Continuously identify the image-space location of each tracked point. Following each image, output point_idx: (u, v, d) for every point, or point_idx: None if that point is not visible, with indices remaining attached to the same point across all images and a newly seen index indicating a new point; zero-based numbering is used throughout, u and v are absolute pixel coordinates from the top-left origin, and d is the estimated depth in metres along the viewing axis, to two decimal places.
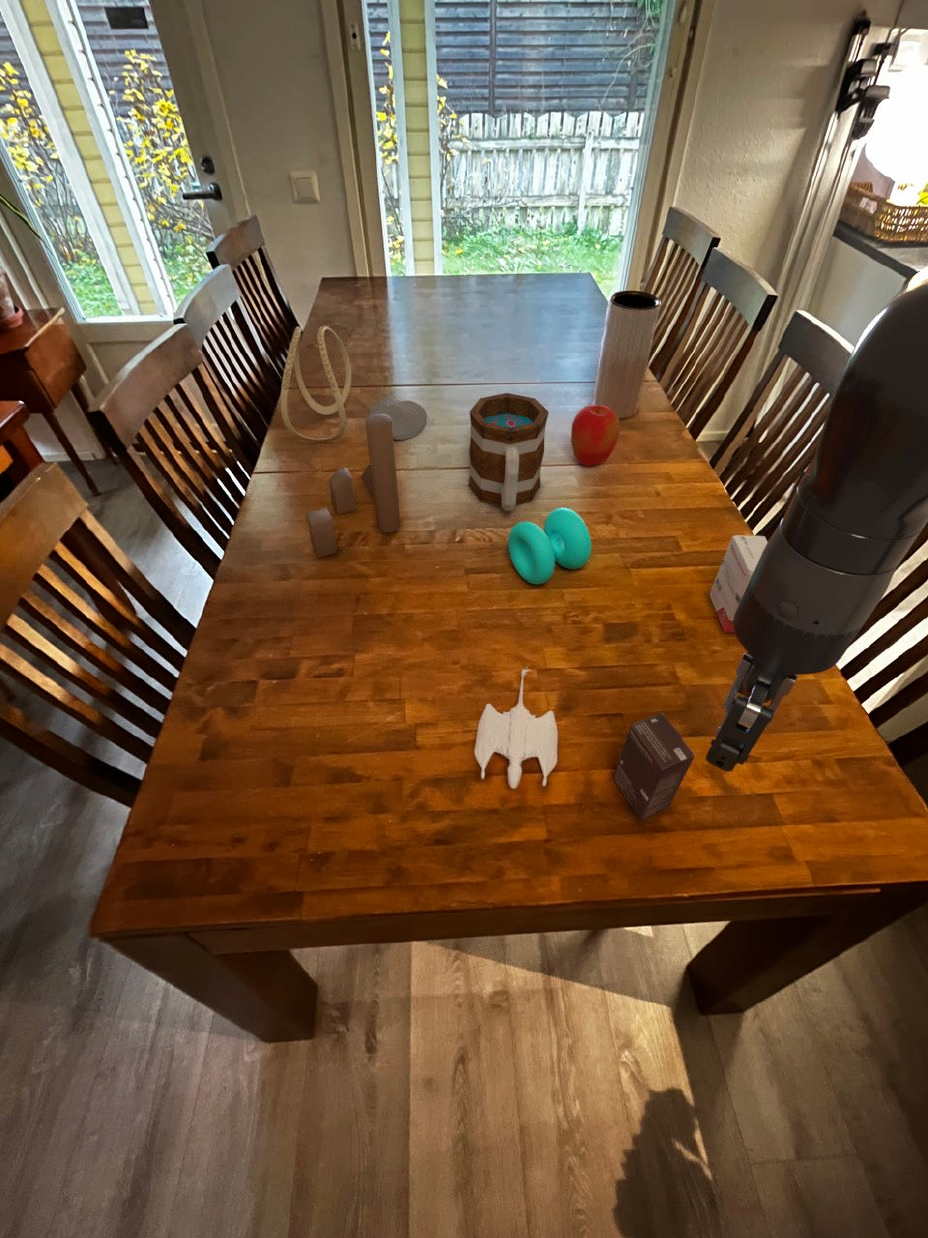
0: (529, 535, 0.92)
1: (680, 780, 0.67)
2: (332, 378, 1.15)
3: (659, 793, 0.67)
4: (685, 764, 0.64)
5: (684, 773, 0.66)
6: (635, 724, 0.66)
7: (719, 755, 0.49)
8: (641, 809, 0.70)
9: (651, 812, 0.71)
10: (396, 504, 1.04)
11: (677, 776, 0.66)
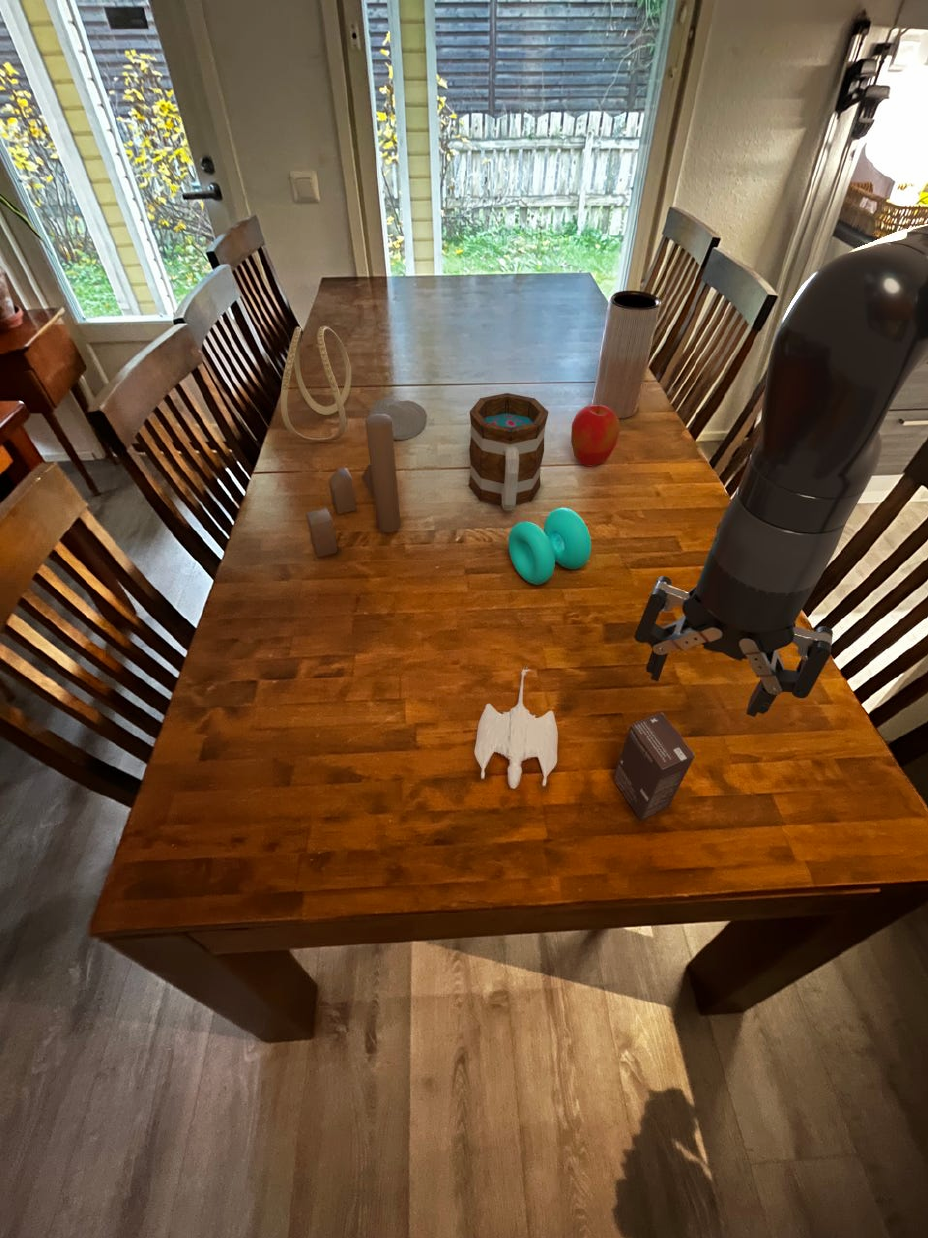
0: (529, 535, 0.92)
1: (680, 780, 0.67)
2: (332, 378, 1.15)
3: (659, 793, 0.67)
4: (685, 764, 0.64)
5: (684, 773, 0.66)
6: (635, 724, 0.66)
7: None
8: (641, 809, 0.70)
9: (651, 812, 0.71)
10: (396, 504, 1.04)
11: (677, 776, 0.66)
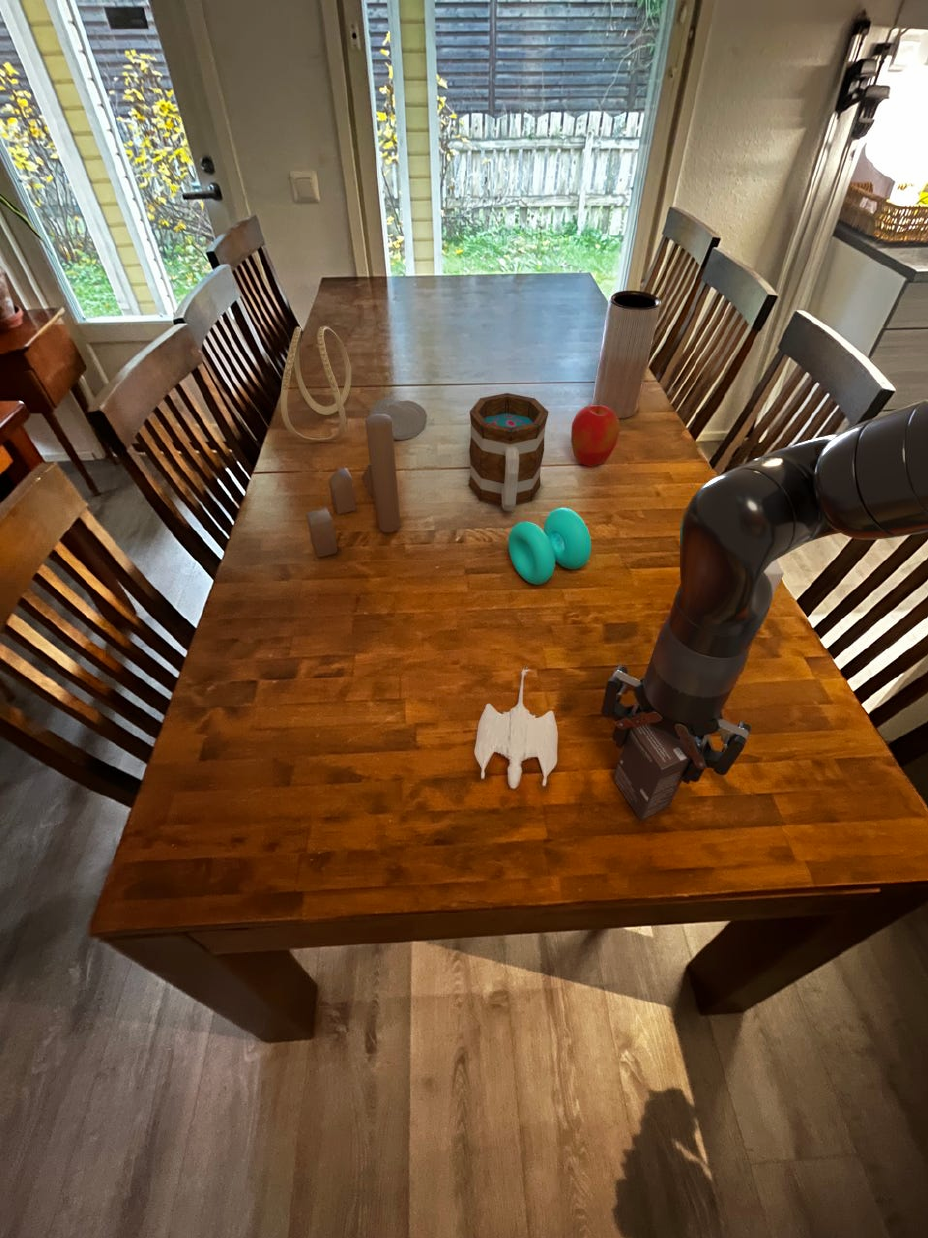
0: (529, 535, 0.92)
1: (680, 780, 0.67)
2: (332, 378, 1.15)
3: (659, 793, 0.67)
4: (685, 764, 0.64)
5: (684, 773, 0.66)
6: None
7: None
8: (641, 809, 0.70)
9: (651, 812, 0.71)
10: (396, 504, 1.04)
11: (677, 776, 0.66)
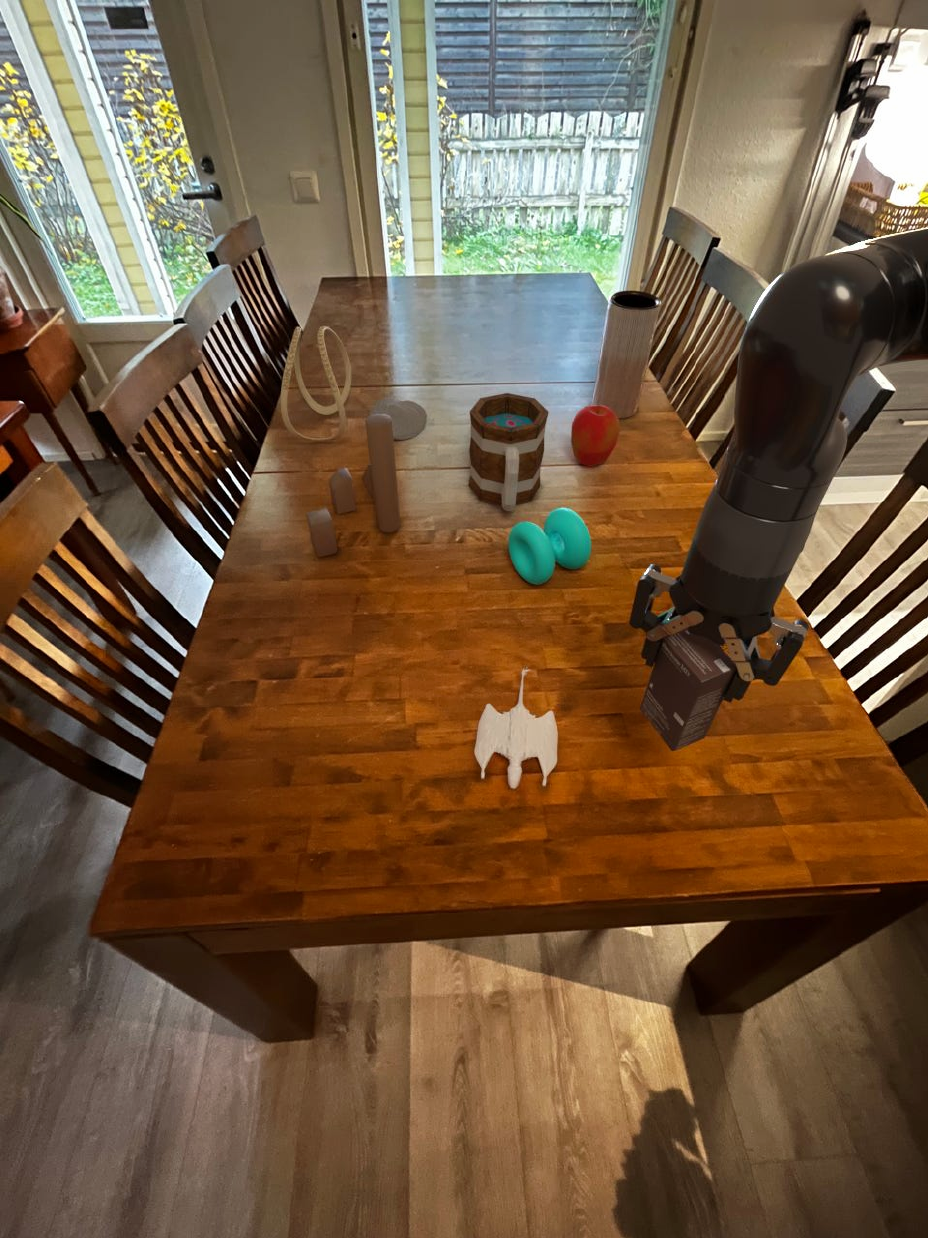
0: (529, 535, 0.92)
1: (720, 700, 0.59)
2: (332, 378, 1.15)
3: (696, 716, 0.59)
4: (728, 677, 0.56)
5: (725, 691, 0.58)
6: (668, 636, 0.58)
7: None
8: (674, 738, 0.62)
9: (685, 742, 0.62)
10: (396, 504, 1.04)
11: (718, 694, 0.57)
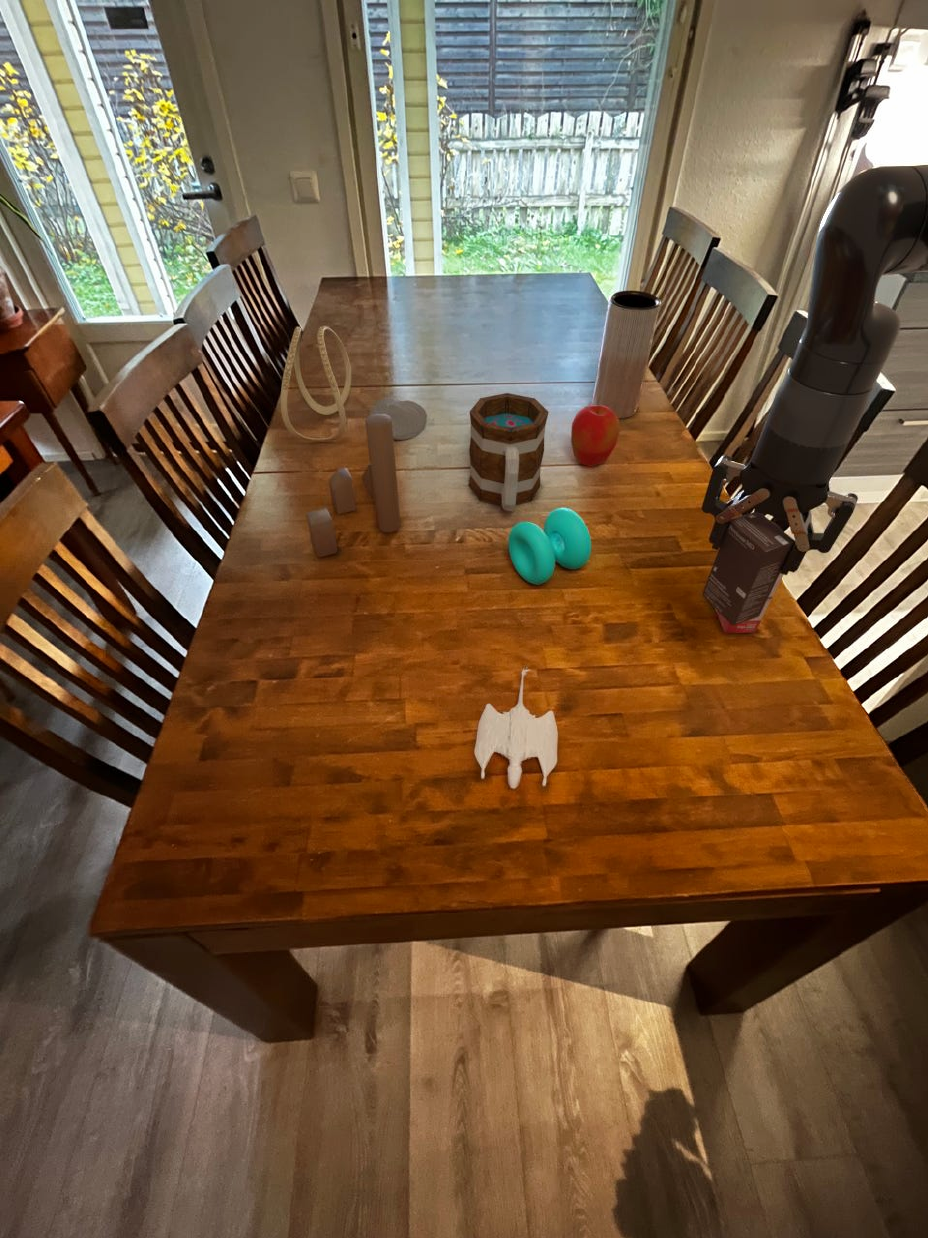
0: (529, 535, 0.92)
1: (776, 575, 0.70)
2: (332, 378, 1.15)
3: (756, 589, 0.70)
4: (786, 551, 0.67)
5: (782, 565, 0.69)
6: (734, 519, 0.69)
7: None
8: (735, 612, 0.72)
9: (744, 617, 0.73)
10: (396, 504, 1.04)
11: (776, 567, 0.68)
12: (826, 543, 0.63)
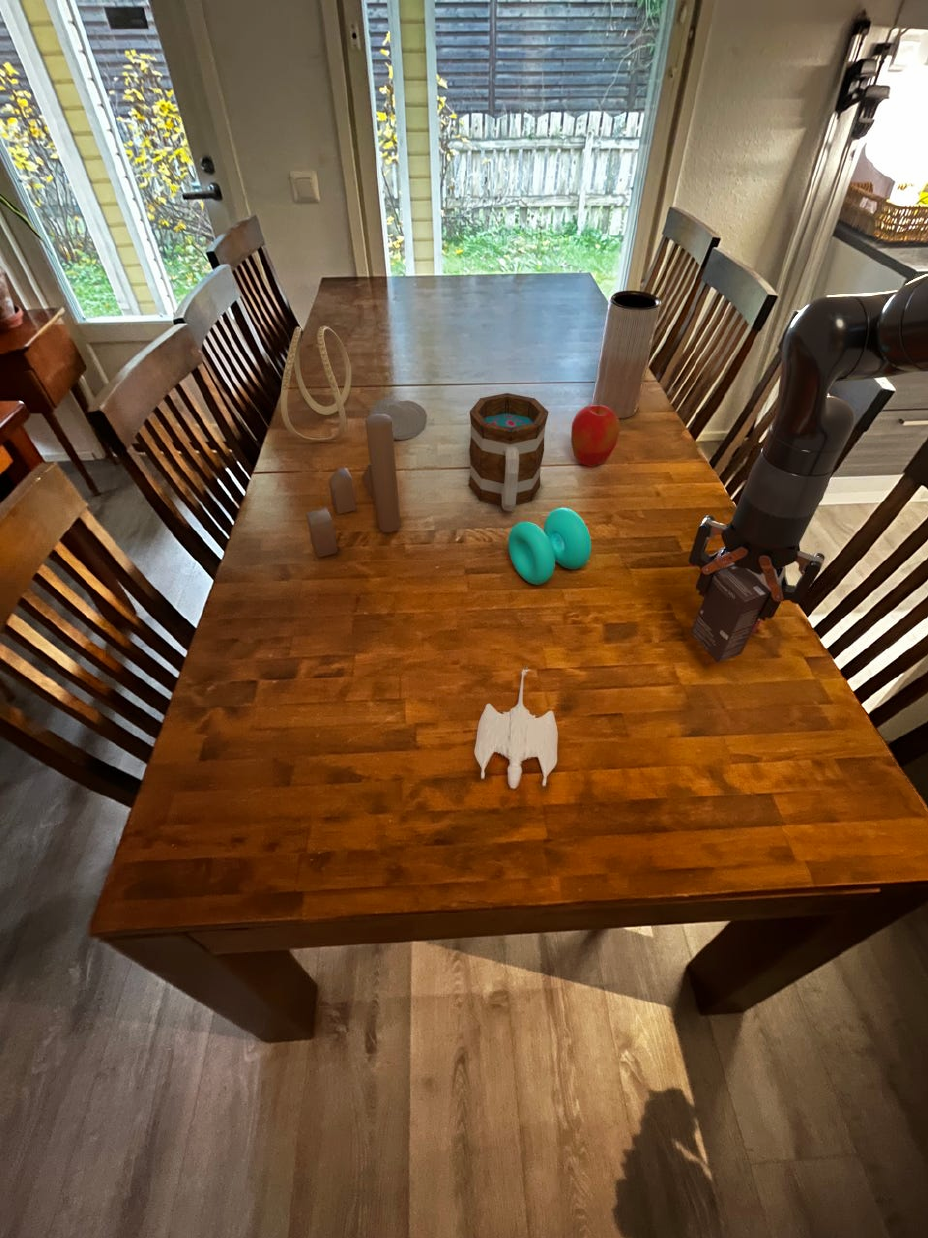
0: (529, 535, 0.92)
1: (756, 620, 0.78)
2: (332, 378, 1.15)
3: (737, 632, 0.78)
4: (763, 600, 0.75)
5: (760, 612, 0.77)
6: (718, 570, 0.77)
7: None
8: (719, 651, 0.81)
9: (727, 655, 0.82)
10: (396, 504, 1.04)
11: (755, 614, 0.77)
12: (797, 595, 0.72)
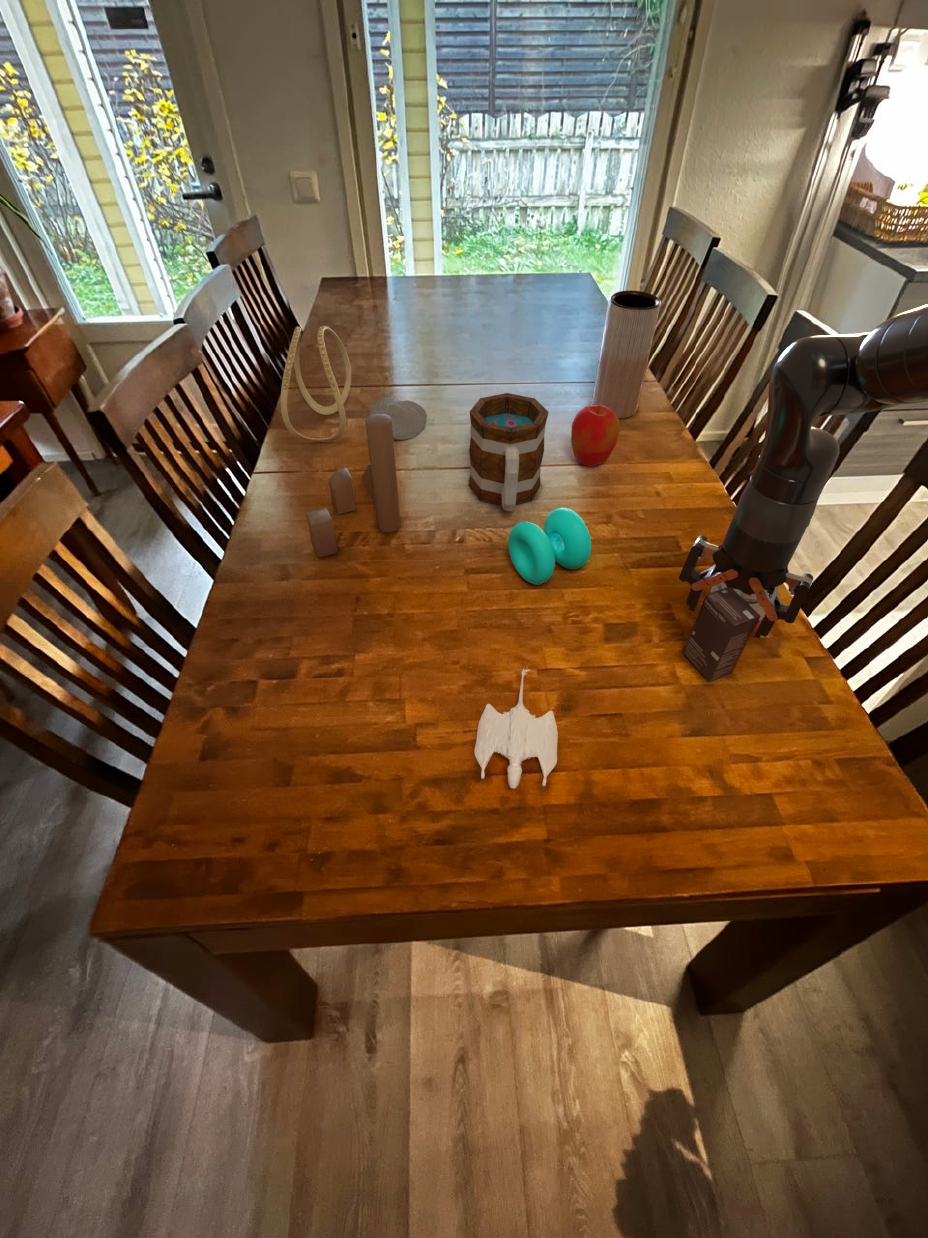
0: (529, 535, 0.92)
1: (745, 642, 0.81)
2: (332, 378, 1.15)
3: (727, 653, 0.81)
4: (752, 623, 0.78)
5: (750, 634, 0.80)
6: (709, 594, 0.80)
7: None
8: (710, 671, 0.84)
9: (718, 675, 0.85)
10: (396, 504, 1.04)
11: (744, 636, 0.80)
12: (791, 615, 0.74)
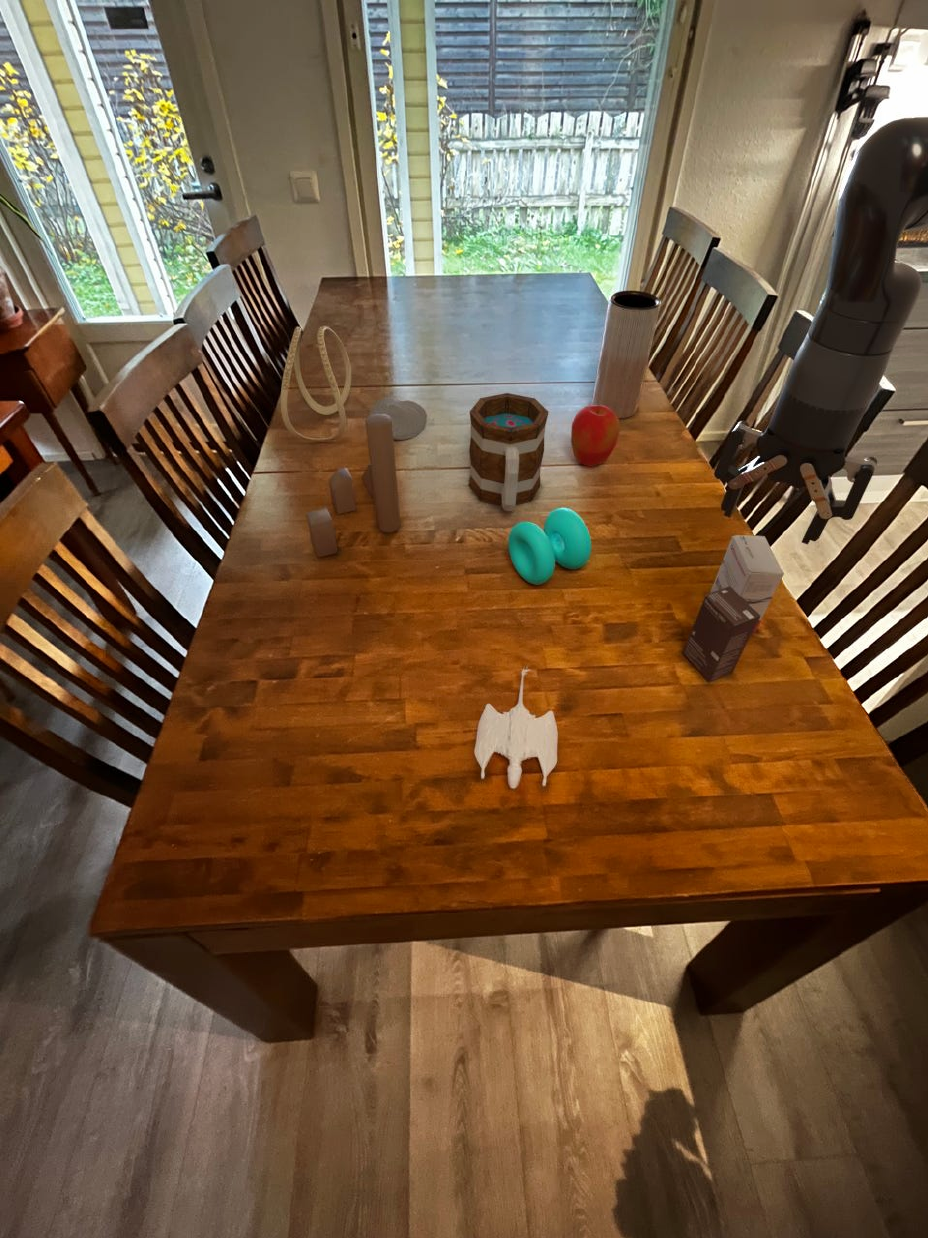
0: (529, 535, 0.92)
1: (745, 642, 0.81)
2: (332, 378, 1.15)
3: (727, 653, 0.81)
4: (752, 623, 0.78)
5: (750, 634, 0.80)
6: (709, 594, 0.80)
7: None
8: (710, 671, 0.84)
9: (718, 675, 0.85)
10: (396, 504, 1.04)
11: (744, 636, 0.80)
12: (849, 510, 0.63)
